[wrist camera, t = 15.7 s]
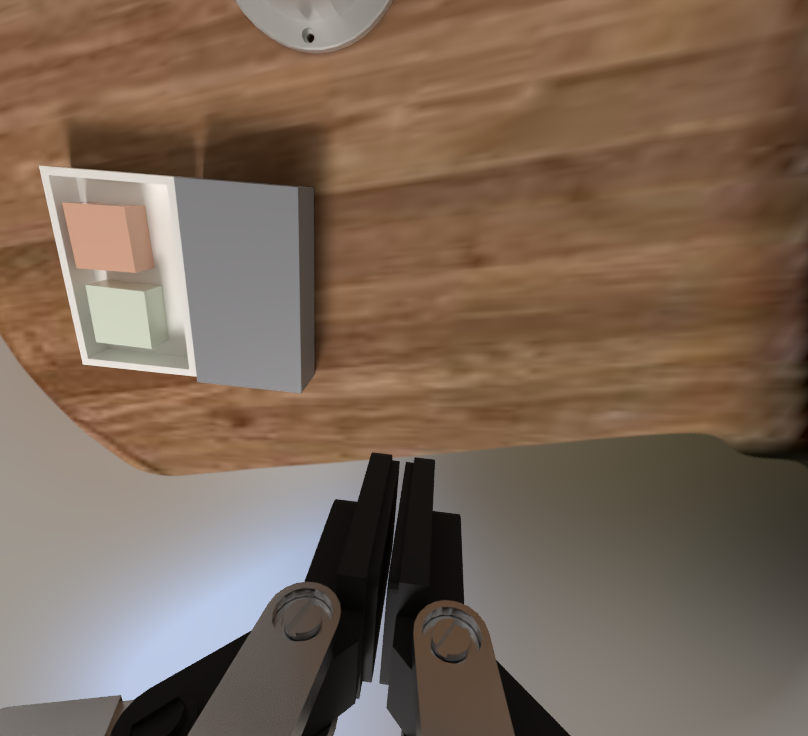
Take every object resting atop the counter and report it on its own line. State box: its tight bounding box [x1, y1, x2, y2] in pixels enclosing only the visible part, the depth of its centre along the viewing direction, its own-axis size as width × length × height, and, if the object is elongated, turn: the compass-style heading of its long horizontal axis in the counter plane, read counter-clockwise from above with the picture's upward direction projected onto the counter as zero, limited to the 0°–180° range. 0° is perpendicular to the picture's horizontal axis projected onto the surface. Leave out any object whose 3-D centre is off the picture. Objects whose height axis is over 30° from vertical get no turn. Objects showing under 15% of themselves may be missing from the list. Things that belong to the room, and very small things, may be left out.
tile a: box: [62, 202, 155, 273], centre depth 36 cm, size 5×5×2 cm
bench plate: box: [174, 177, 315, 393], centre depth 36 cm, size 16×9×4 cm, turn 176°
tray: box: [39, 166, 197, 377], centre depth 37 cm, size 16×10×3 cm, turn 176°
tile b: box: [86, 279, 169, 349], centre depth 38 cm, size 5×5×2 cm
